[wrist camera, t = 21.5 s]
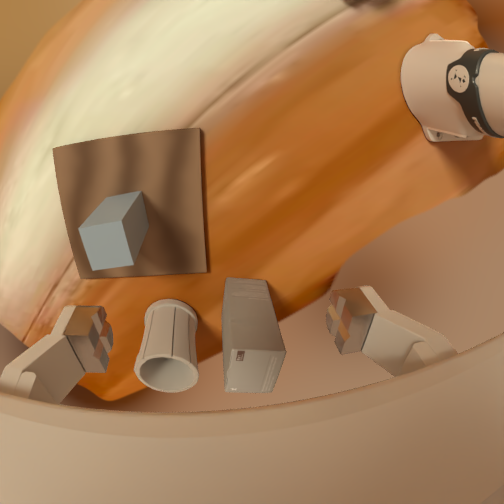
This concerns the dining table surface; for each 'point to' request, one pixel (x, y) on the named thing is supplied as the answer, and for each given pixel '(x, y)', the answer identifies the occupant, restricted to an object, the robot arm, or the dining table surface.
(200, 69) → the dining table surface
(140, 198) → the tall grey rectangular prism
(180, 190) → the walnut base
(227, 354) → the skincare box
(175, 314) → the cup
